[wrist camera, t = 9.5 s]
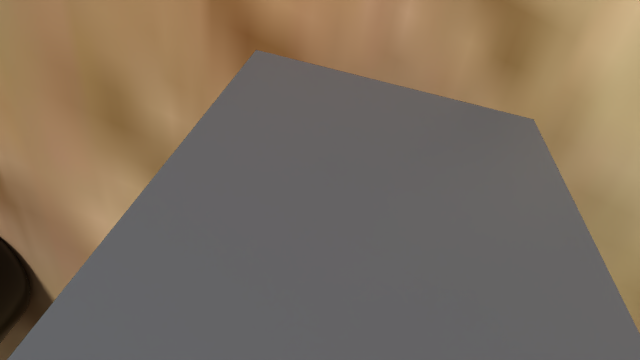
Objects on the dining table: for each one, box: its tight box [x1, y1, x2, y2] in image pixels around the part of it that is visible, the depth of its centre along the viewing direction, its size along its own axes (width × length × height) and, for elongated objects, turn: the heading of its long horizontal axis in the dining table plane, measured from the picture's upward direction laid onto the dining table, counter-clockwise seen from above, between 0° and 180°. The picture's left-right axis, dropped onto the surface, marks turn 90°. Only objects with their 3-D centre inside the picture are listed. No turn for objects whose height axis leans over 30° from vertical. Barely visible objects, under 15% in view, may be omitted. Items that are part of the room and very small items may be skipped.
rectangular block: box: [7, 50, 640, 360], centre depth 10 cm, size 7×9×9 cm
